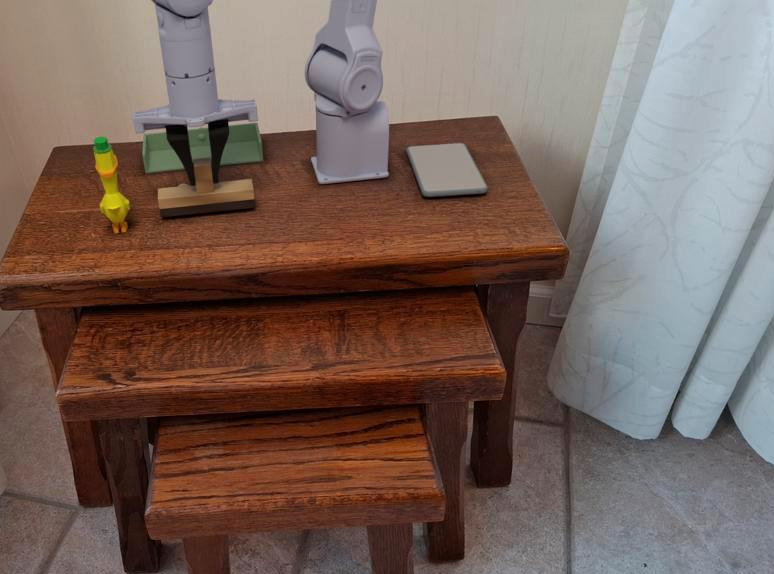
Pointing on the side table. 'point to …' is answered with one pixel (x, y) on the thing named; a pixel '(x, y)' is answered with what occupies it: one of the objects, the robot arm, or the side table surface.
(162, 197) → the brush
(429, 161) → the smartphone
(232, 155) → the dustpan
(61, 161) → the side table surface
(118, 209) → the toy figure
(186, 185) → the crumb
